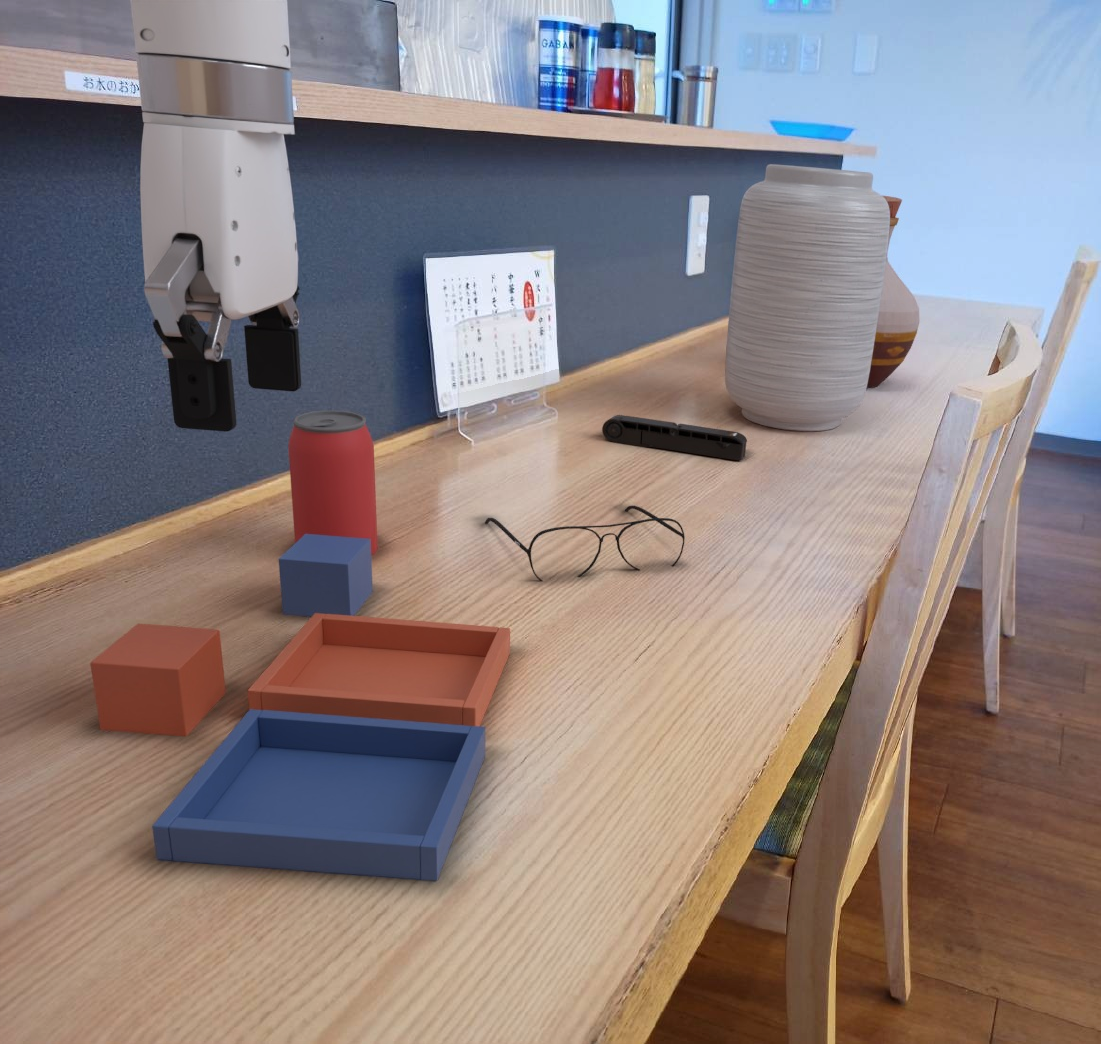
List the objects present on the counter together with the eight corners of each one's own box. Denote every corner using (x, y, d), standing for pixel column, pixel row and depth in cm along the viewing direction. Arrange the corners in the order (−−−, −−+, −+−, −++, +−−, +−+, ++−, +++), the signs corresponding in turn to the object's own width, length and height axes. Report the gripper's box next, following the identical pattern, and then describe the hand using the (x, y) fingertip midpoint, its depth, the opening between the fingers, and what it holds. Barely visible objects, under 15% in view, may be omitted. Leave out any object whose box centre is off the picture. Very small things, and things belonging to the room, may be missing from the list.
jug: (802, 364, 178) (823, 189, 167) (902, 374, 177) (929, 198, 166) (802, 388, 160) (825, 193, 149) (914, 399, 158) (945, 203, 148)
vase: (691, 412, 139) (711, 159, 128) (775, 394, 154) (800, 166, 142) (809, 446, 128) (843, 171, 116) (889, 423, 142) (926, 177, 130)
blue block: (282, 621, 73) (278, 558, 71) (309, 592, 77) (305, 533, 76) (351, 626, 73) (348, 564, 71) (373, 597, 77) (370, 538, 76)
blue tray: (157, 869, 48) (150, 825, 47) (253, 746, 58) (249, 708, 57) (437, 891, 48) (436, 847, 47) (485, 764, 58) (485, 726, 57)
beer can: (278, 560, 82) (267, 420, 78) (333, 535, 88) (325, 404, 84) (341, 577, 80) (334, 434, 76) (394, 551, 86) (389, 417, 82)
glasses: (527, 590, 81) (526, 531, 80) (483, 543, 94) (481, 492, 92) (686, 571, 87) (688, 516, 86) (624, 529, 100) (624, 481, 99)
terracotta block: (101, 738, 58) (89, 662, 56) (147, 694, 62) (138, 622, 61) (187, 744, 58) (178, 669, 56) (227, 700, 62) (219, 629, 61)
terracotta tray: (250, 727, 60) (246, 690, 59) (317, 645, 70) (314, 612, 69) (475, 745, 60) (475, 707, 59) (510, 660, 70) (510, 627, 69)
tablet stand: (601, 440, 123) (602, 417, 122) (608, 435, 125) (609, 412, 124) (740, 462, 119) (743, 438, 118) (746, 456, 121) (748, 433, 120)
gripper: (220, 101, 62) (241, 372, 68) (52, 84, 46) (99, 442, 52) (341, 112, 62) (352, 381, 68) (217, 99, 46) (245, 453, 52)
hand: (243, 407), depth 60 cm, fingers open, 9 cm apart
